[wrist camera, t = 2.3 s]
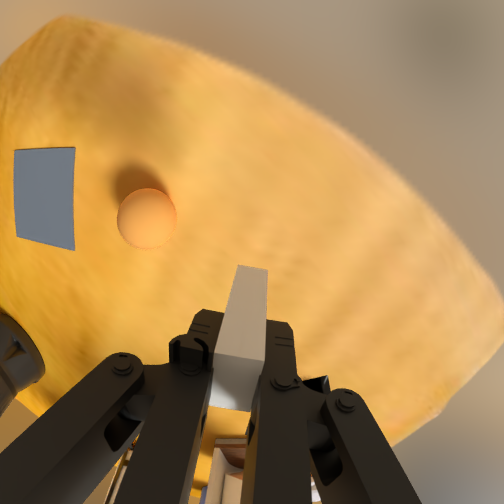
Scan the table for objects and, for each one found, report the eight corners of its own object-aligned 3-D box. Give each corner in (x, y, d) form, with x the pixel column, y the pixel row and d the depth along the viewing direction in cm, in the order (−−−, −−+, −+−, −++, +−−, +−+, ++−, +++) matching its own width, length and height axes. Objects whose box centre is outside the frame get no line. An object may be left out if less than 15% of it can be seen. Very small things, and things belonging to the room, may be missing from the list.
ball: (132, 234, 27) (106, 253, 22) (135, 181, 25) (106, 190, 20) (181, 242, 27) (162, 264, 22) (187, 187, 25) (167, 197, 20)
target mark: (17, 236, 28) (16, 236, 28) (15, 150, 23) (14, 150, 23) (75, 250, 28) (74, 250, 28) (75, 147, 24) (74, 147, 23)
